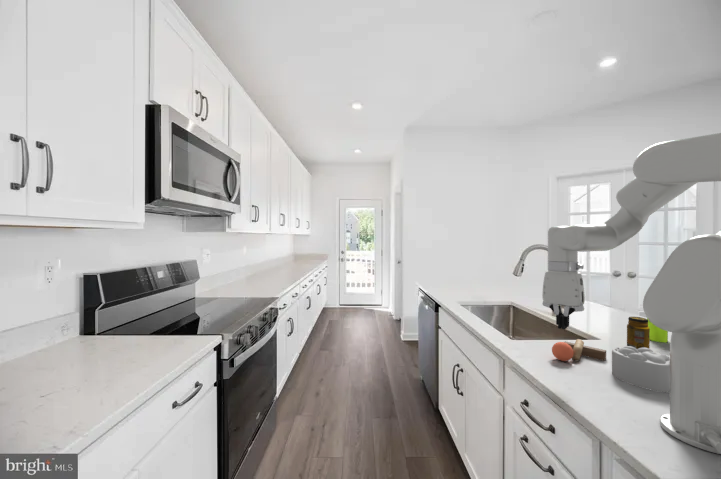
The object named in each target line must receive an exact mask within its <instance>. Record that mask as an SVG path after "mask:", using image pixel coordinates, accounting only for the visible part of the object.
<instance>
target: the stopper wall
mask: <svg viewBox="0 0 721 479" xmlns="http://www.w3.org/2000/svg"><path fill="white" fill-rule="evenodd" d="M563 342H564V343H567V344H568V345H570V346H571V348H572V349H573V348H574V345H575V342H574V343H573V342H569V341H563ZM582 356H583V357H587V358H592V359H594V360H595V359H596V360H600V361H606V360H607V350H606V349H603V348H597V347H592V346H587V345H585V344H584V345H583V349H582V353H581V357H582Z"/></svg>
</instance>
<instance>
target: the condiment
mask: <svg viewBox="0 0 721 479" xmlns="http://www.w3.org/2000/svg"><path fill="white" fill-rule="evenodd" d="M627 319H628V321H627V322H628V323H627V324H626V346H631V347H634V348H636V349H639V348H649V349H650V343H651V342H650V341H651V340H649V339H650V337H649V334H650V333H649V332H650V329H649V327H648V320H647V318H645V317H641V316H629V317H628V318H627Z"/></svg>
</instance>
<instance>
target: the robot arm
mask: <svg viewBox="0 0 721 479" xmlns="http://www.w3.org/2000/svg"><path fill="white" fill-rule="evenodd" d="M632 172H633V175H634V176H635V177H634V178H632V180H631V181H629V182H628V183H627V184H625V185H624V186H623V187H621V189H619V190H618V191H617V193H616V197H615V198H616V201H617V203H618V204H619V206H620V209H619V210H618V211H617V213H616V214H614V215H613V216H612V217H610V218H609V219H608V220H606V221H605V222H603V223H601V224H598V223H597V224H595V223H594V224H593V223H592V224H574V225H570V226H568V225H558V226H551V227H549V228H548V230H547V270H545V272H544V276H543V277H544V278H543V284H542V292H541V293H542V294H541V295H542V306H544V307H546V308H549V309H550V310H551V311H552V312H553V313H554V315H555V324H556V325H557V329H561V330H566V329H568V328H569V327H570V315H572V314H573V313H578V312H583V311H585V306H584V304H585V301H586V300H585V297H586V296H585V288H584V281H583V275H582V273H581V272H579V270H583V269H584V264H580V263H579V261H578V255H579V254H578V252H579V253H581V252H582V253H583V252H589V253H590V252H606V251H611V250H613V249H615V248H618V247H619V246H621V245H622V244H624V243H625V242H627V241H628V240H630V239H631V238H633V237H635V236H636V235H637V234H638V233H639V232H640V231H641V230H642V229H643V227H644V226H645V225H646V223H647V221H648V219H649V217H651V215H652V214H654V213H656V212H657V211H658V210H660V209H661V208H663V207H664V206H665V205H667V204H668V203H670V202H671V201H672V200H675V198H677V197H679V196H681V195H682V194H683V193H684V192H686V191H687V190H689V189H690V188H692V187H693V186H695V185H696V184H698V183H707V182H711V183H712V182H721V132H717V133H713V134H705V135H700V136H694V137H688V138H681V139H674V140H668V141H666V140H665V141H662V142H658V143H655V144H653V145H650V146H649V147H647V148H645V149H644V150H643V151H641V152H640V153H639V154H638V156H636V158H635V160H634V162H633V164H632ZM562 306H564V307H563V309H562ZM642 310H643V312H644V315H645V317H646V319H647V318H648V319H649V321H650V322H651V323H652V324H654V325H655V326H657V327H658V328H660V329H663V330H665V331H668V333H669V332H670V333H671V335H670V341H669V358H670V392H669V413H665V414H661V416H660V417H659V425H660V426H661V427H662V429H663V430H664V431H665V432H667V433H668V434H669V435H671V436H672V437H674V438H676V439H677V440H679V441H681V442H683V443H685V444H688V445H690V446H693V447H695V448H698V449H701V450H704V451H707V452H709V453H714V454H718V455H721V229H719V231H718V232H717V233H711V234H710V233H709V234H702V235H697V236H694V237H691V238H689V239H687V240H685V241H684V242H682V243H680V244H679V245H677V247H676V248H674V249H673V251H672V252H671V253H670V254H669V256H668V258H667V259H666V260H665V262H664V264H663V265H662V266H661V268H660V270H659V271H658V273H657V275H656V276H655V278H654V279H653V281H652V282H651V283H650V285H649V286H648V289H647V290H646V292H645V294H644V296H643V301H642Z"/></svg>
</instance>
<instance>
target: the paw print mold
mask: <svg viewBox="0 0 721 479" xmlns="http://www.w3.org/2000/svg"><path fill="white" fill-rule="evenodd" d="M611 374H612V376H614V377H615V378H616V379H618V380H620V381H622V382H624V383H626V382H627V383H628V384H629V383H630V385H632V384H633V386H635V385H636V386H635V387H640V388H642V387H643V389H646V388H647V389H646V390H649V389H651V390H650V391H653V390H654V392H657V391H658V392H657V393H665V392H666V394H667V392H668V393H670V356H667V355H666V354H663V353H660V352H656V351H655V352H654V350H652V349H651V348H650V347H649V348H639V349H636V348H634V347H631V346H627V345H625V346H622V347H616V348H615V347H614V348H612V350H611Z"/></svg>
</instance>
